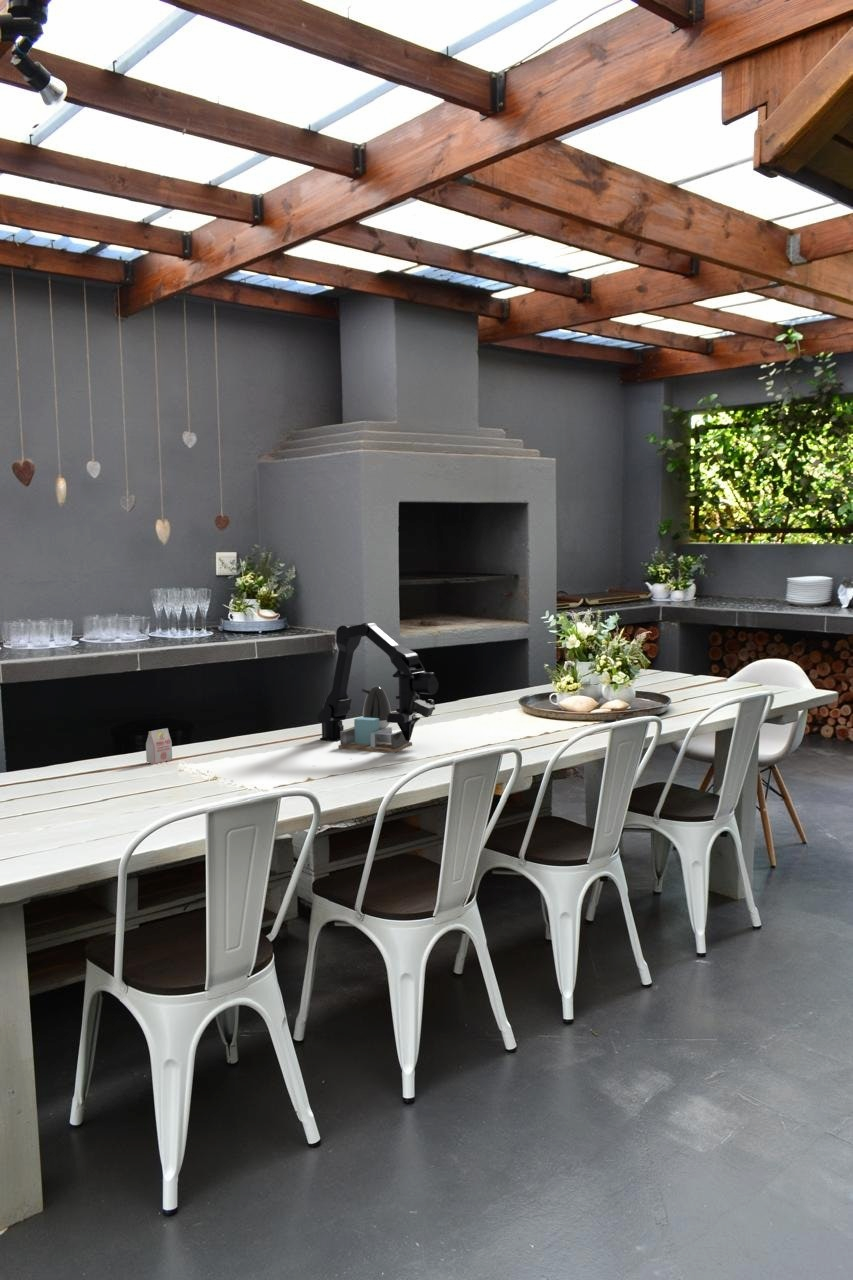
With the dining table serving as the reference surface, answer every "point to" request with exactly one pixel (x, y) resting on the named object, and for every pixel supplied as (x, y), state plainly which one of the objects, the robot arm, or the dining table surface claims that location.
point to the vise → (349, 743)
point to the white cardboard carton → (158, 746)
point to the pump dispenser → (376, 705)
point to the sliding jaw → (387, 738)
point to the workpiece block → (365, 729)
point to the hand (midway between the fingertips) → (408, 740)
